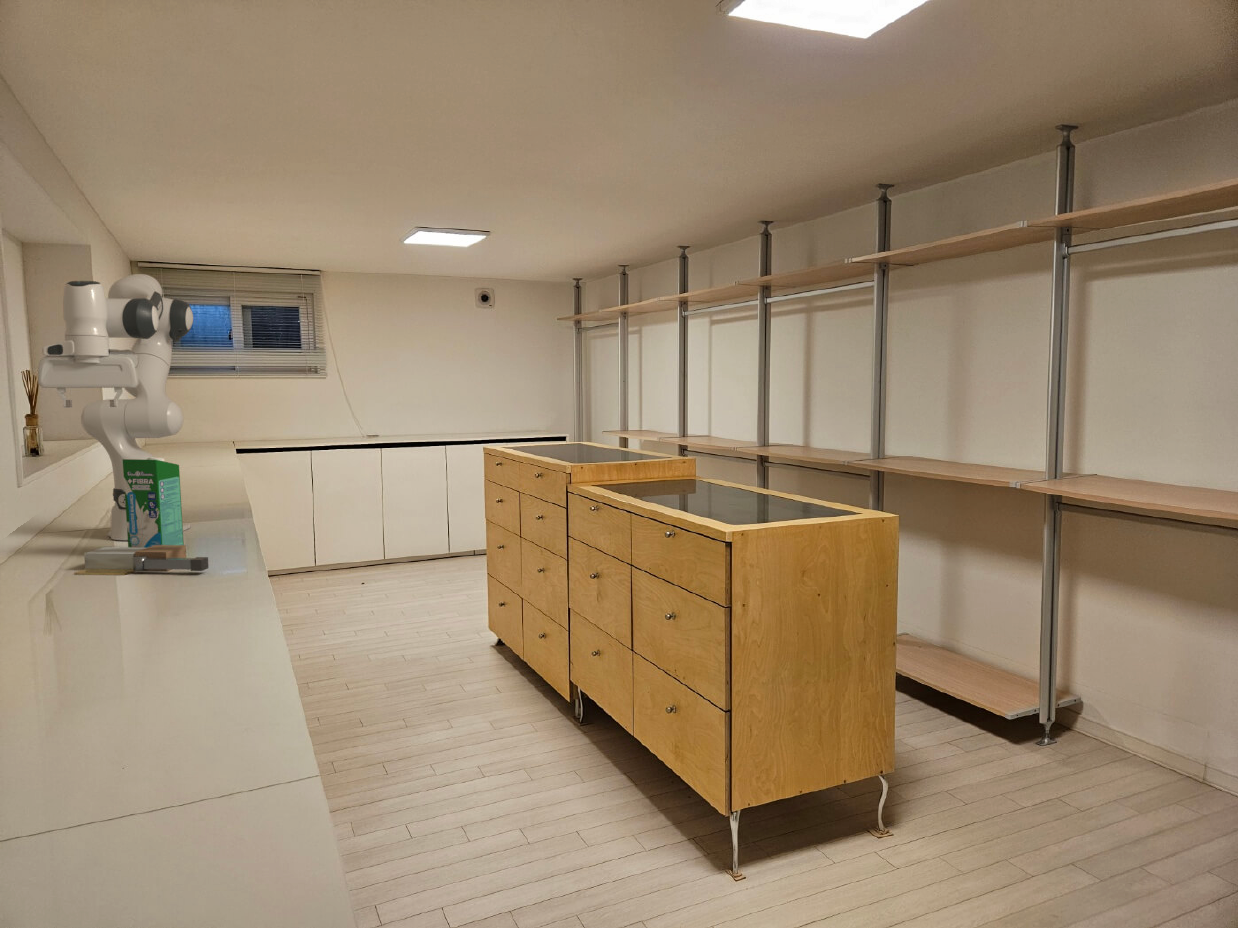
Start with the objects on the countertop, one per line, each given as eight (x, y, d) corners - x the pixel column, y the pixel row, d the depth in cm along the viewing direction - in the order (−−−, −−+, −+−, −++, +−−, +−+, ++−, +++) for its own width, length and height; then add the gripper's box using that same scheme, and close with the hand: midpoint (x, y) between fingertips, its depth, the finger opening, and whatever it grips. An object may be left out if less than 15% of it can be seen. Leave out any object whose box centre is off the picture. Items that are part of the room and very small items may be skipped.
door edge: (108, 562, 203) (107, 544, 202) (186, 563, 202) (185, 545, 201) (85, 569, 195) (84, 551, 194) (166, 571, 194) (165, 552, 193)
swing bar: (130, 570, 190) (129, 558, 190) (138, 567, 193) (137, 555, 193) (201, 571, 189) (200, 559, 189) (208, 568, 192) (208, 556, 192)
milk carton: (184, 550, 216) (178, 455, 214) (162, 558, 207) (156, 459, 205) (152, 549, 217) (146, 455, 215) (128, 557, 208) (122, 458, 206)
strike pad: (86, 570, 195) (86, 568, 195) (135, 570, 194) (135, 569, 194) (74, 574, 191) (74, 572, 191) (124, 575, 190) (124, 573, 190)
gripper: (139, 350, 204) (142, 406, 205) (40, 349, 196) (44, 407, 197) (135, 349, 198) (138, 406, 199) (33, 347, 190) (37, 408, 191)
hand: (91, 407), depth 198 cm, fingers open, 8 cm apart
